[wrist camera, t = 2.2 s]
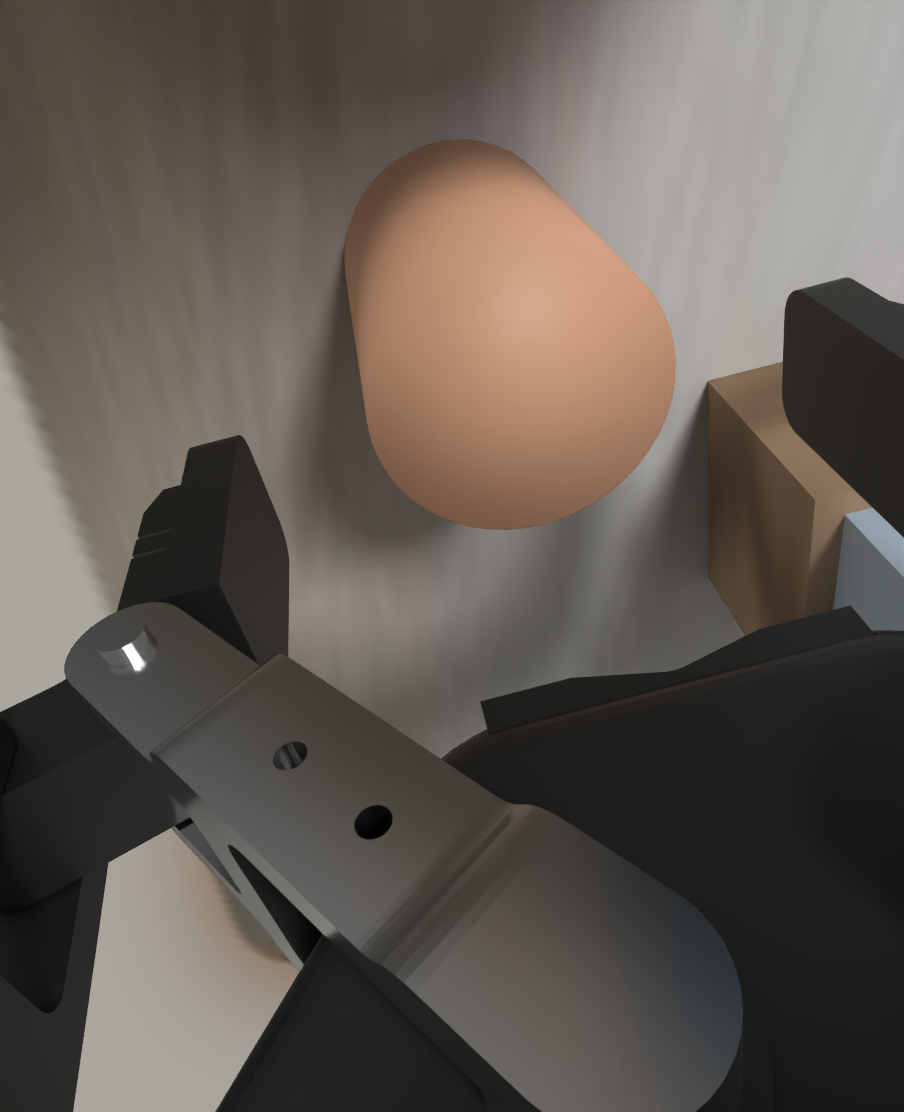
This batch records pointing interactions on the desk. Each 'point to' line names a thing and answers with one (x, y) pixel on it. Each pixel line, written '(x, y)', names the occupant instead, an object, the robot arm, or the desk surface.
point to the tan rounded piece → (499, 341)
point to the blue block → (871, 570)
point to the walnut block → (770, 506)
